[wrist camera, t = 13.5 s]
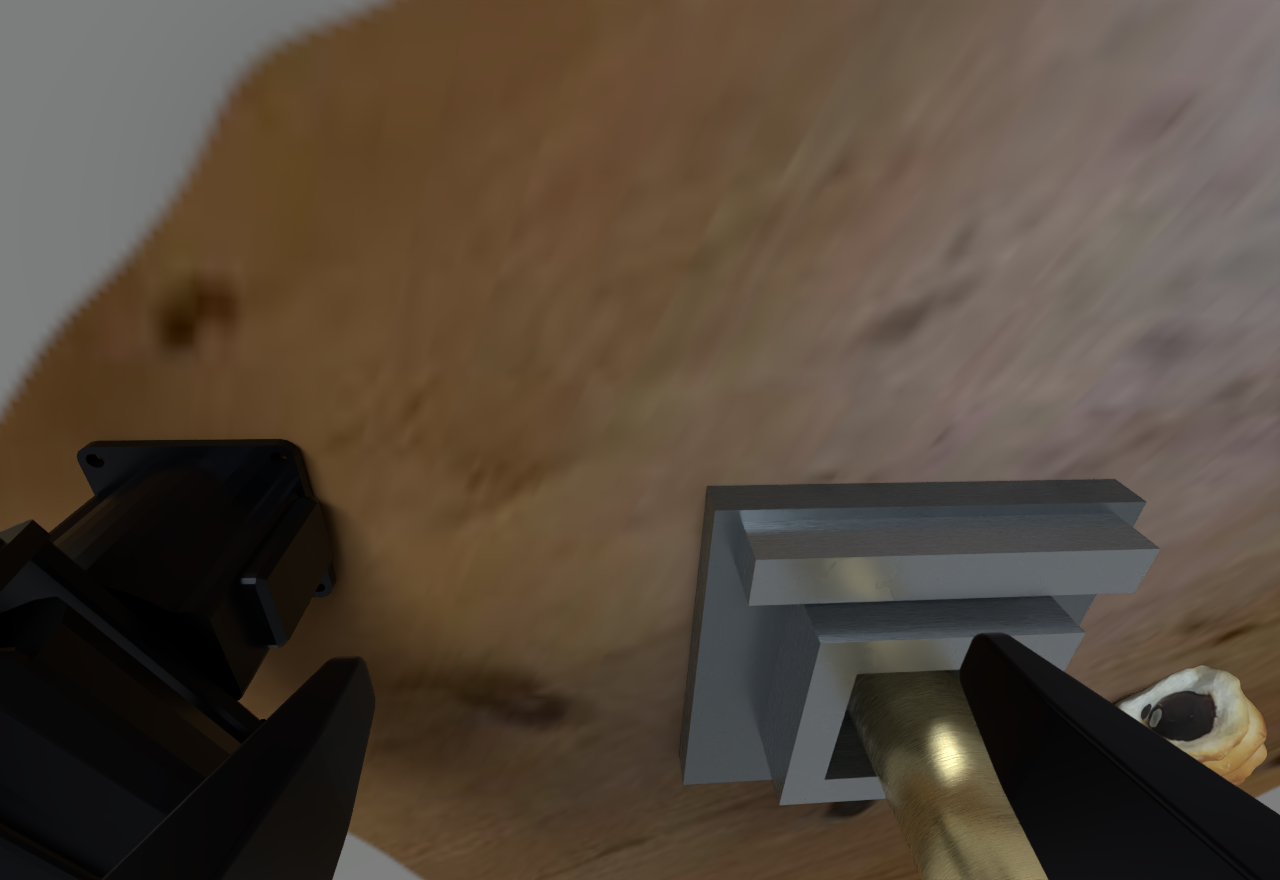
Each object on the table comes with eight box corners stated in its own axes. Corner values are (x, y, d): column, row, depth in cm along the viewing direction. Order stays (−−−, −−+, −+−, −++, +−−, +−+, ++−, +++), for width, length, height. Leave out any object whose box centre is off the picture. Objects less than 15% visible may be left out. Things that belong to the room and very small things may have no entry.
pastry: (1235, 739, 34) (1306, 809, 30) (1114, 786, 35) (1168, 857, 32) (1212, 648, 29) (1291, 718, 26) (1076, 705, 31) (1134, 779, 28)
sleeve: (850, 709, 27) (1047, 1156, 15) (818, 650, 25) (1019, 1117, 13) (946, 672, 26) (1228, 1112, 15) (922, 608, 24) (1227, 1062, 13)
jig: (678, 754, 30) (692, 853, 26) (707, 486, 22) (733, 570, 18) (985, 738, 31) (1042, 829, 27) (1115, 479, 23) (1221, 555, 19)
